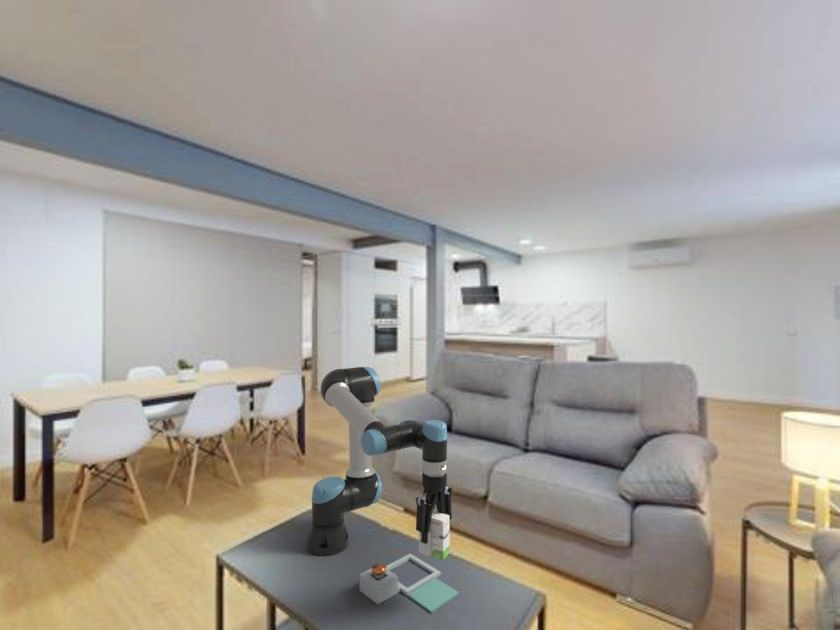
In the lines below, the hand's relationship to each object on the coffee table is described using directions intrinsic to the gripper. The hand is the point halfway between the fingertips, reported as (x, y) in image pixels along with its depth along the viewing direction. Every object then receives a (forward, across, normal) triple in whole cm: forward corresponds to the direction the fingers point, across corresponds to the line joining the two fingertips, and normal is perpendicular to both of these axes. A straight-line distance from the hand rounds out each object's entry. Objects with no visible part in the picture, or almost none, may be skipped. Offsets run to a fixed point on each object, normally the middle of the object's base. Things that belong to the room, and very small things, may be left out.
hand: (434, 548), depth 131 cm
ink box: (+2, 0, 0) cm, 2 cm away
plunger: (+13, -11, +13) cm, 21 cm away
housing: (+14, -3, +13) cm, 20 cm away
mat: (+14, 0, 0) cm, 14 cm away
